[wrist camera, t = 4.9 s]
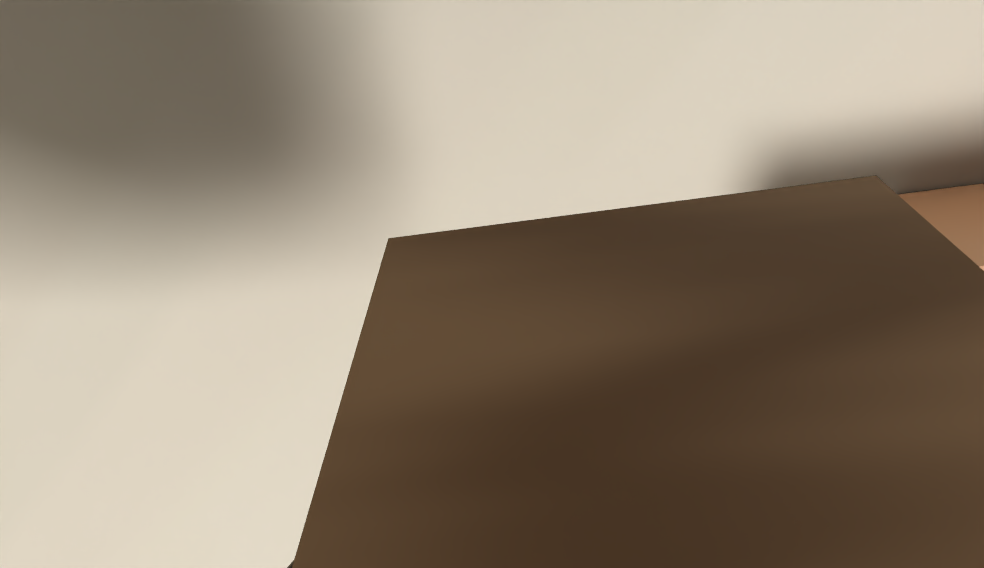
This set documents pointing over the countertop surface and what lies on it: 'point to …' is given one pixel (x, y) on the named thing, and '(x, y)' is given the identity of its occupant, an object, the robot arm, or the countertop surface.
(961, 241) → the open tan box
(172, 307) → the countertop surface
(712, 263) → the taped cardboard box
